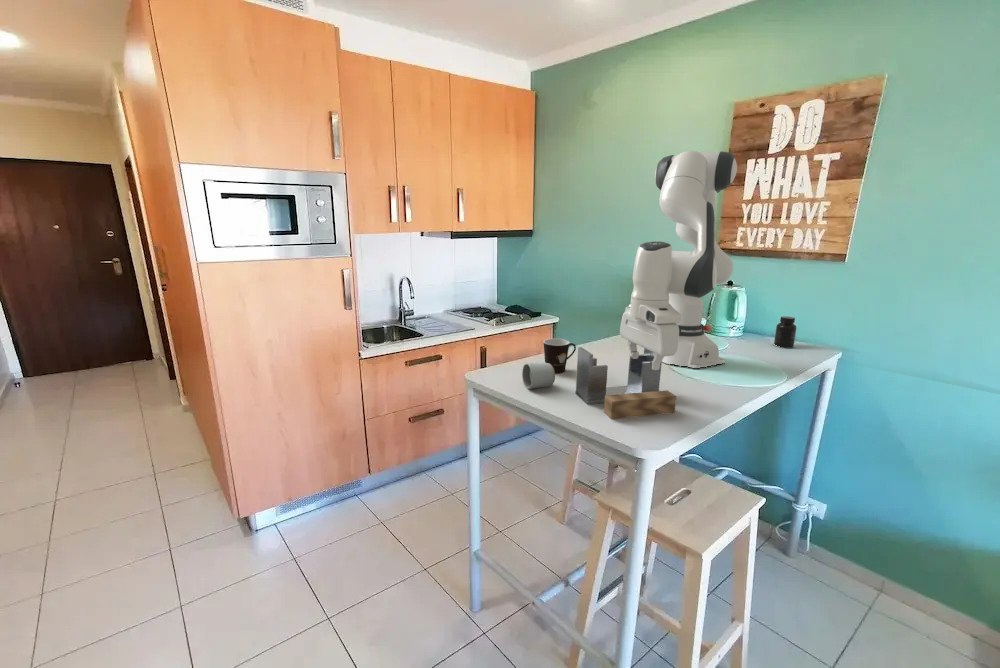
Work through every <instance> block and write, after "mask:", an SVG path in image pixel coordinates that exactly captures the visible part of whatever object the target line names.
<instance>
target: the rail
mask: <svg viewBox="0 0 1000 668" xmlns="http://www.w3.org/2000/svg"><path fill="white" fill-rule="evenodd" d="M676 402H677V395H675V394H674V393H672V392H671V391H669V390H667V389H666V390H659V391H654V392H642V393H630V394H617V395H605V403H604V404H603V405H604V406H603V413H604V414H605V415H606V416H607V417H608V418H609V419H610V420H613V419H625V418H635V417H636V418H637V417H638V418H639V417H647V416H657V415H658V414H659V415H664V414H665V415H668V414H667V413H670V414H675V412H676V404H677V403H676Z"/></svg>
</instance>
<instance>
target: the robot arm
mask: <svg viewBox="0 0 1000 668" xmlns="http://www.w3.org/2000/svg"><path fill="white" fill-rule="evenodd" d="M737 170H738V164H737V160H736V156H735V155H734V154H733V152H729V151H719V152H716V151H695V150H686V151H683V152H681V153H678V154H677V155H674V154H670V155H667V156H665V157H662V159H660V160H659V162H658V163H657V166H656V168H655V172H654V181H655V185H656V187H657V188H658V190H659V191H660V192H659V193H660V194H659V201H658V203H659V204H658V205H659V208H660V210H661V211H662V213H663V215H665V216H666V217H667V218H668V219H669V220H670V221H673V222H674V223H675V224H676V225H675V233H676V236H677V237H678V238H679V239H680V240H681V241H684V242H685V243H687V244H690V246H691V247H692V248H693V250H690V251H689V250H673V249H672V248H673V247H672V245H671V244H670V243H669V242H665V241H647V242H644V243H642V244H640V245H638V247H637V250H636V255H635V259H634V264H633V271H632V283H633V289H632V292H631V294H630V303H629V304H627V306H626V307H625V310H624V312H623V314H622V317H621V322H620V326H619V327H620V328H619V334H620V336H621V338H623V339H625V340H627V346H628V350H629V358H630V357H631V358H633V359H637V358H638V355H640V354H639V353H640V352H639V351H638V346H639V347H641V348H643V349H644V348H646V349H648V350H650V351H652V352H653V356H654V359H653V361H652V362H650V368H651V369H653V370H659V368H660V363H661V361H662V363H664V364H667V365H670V364H675V365H681V366H688V367H694V368H700V367H706V366H711V365H716V364H722V363H725V364H726V360H725V359H724V358H722V357H720V356H719V355H720V353H719V347H718V344H717V343H715V342H714V341H713V340H711V338H710V337H708V336H707V335H706V334H705V331H706V332H711V330H712V326H711V325H708V324H705V325H704V324H703V323H702V321H703V313H704V312H703V311H704V302H703V300H702V299H701V298H702V297H705V296H706V295H708V294H709V293H711V292H713V290H714V289H715V287H716V285H721V284H725V283H726V282H727V281H728V280H729V279H730V278H731V276H732V275H733V271H734V263H733V260H732V257H730V255H728V254H727V253H726V252H724V251H723V250H722V248H720V246H719V244H718V243H717V241H716V238H715V237H716V229H715V227H716V225H715V224H716V223H715V209H716V193H717V194H718V193H720V191H724V190H726V189H727V188H730V186H732V184H733V181H734V180H735V177H736V176H737V172H738V171H737ZM722 365H723V364H722ZM681 366H680V367H681ZM688 367H687V368H688ZM711 367H712V366H711ZM706 368H707V367H706ZM700 369H701V368H700Z"/></svg>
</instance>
